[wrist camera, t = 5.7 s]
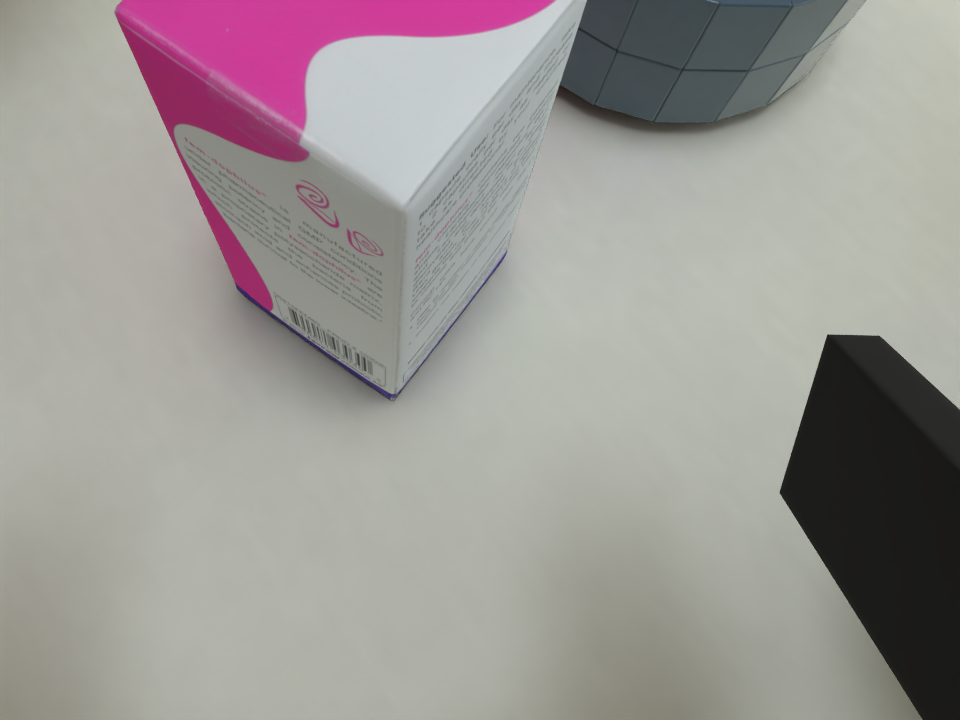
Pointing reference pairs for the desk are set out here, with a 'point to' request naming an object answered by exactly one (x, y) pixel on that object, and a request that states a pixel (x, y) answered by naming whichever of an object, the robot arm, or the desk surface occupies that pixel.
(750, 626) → the desk surface
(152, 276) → the desk surface
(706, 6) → the bowl
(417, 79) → the supplement box
